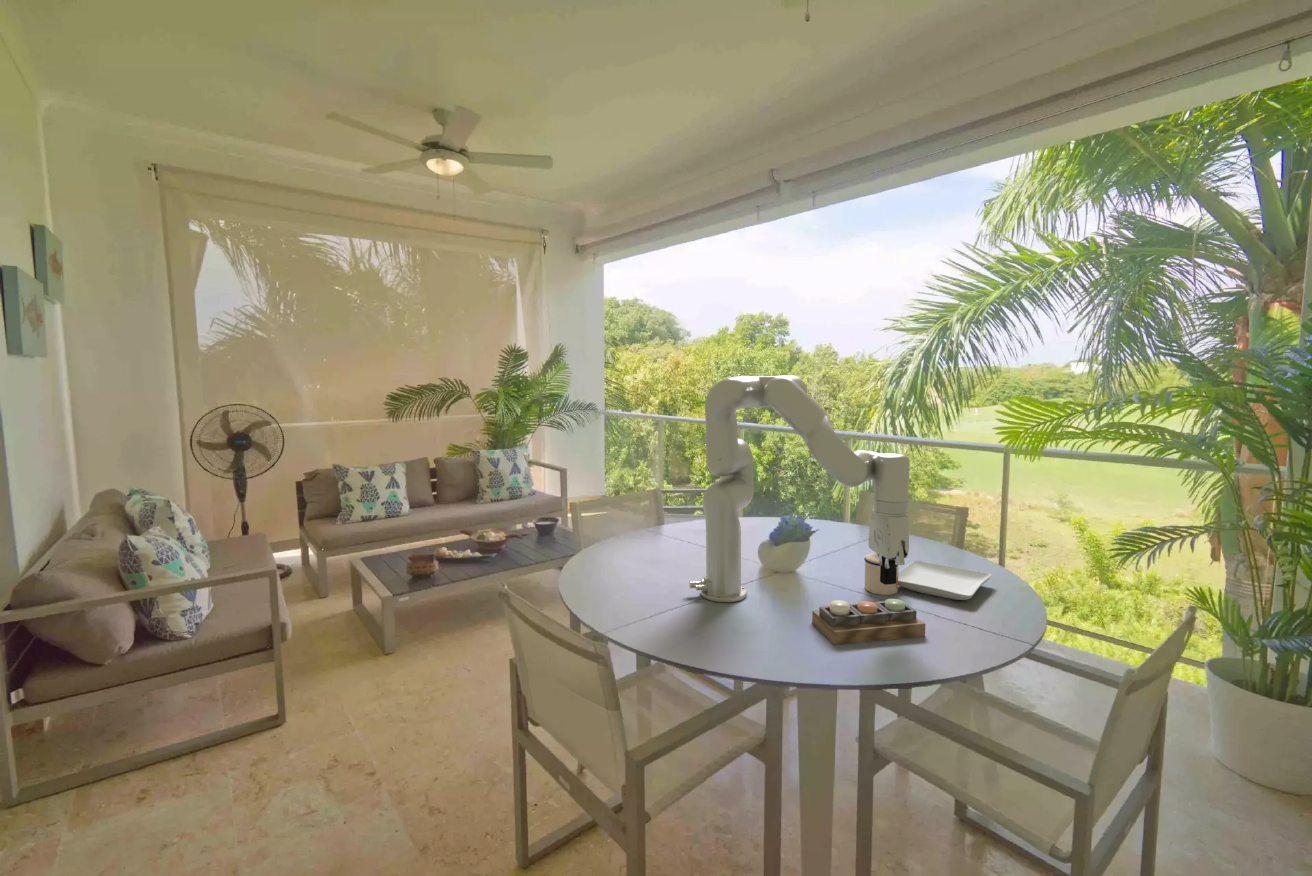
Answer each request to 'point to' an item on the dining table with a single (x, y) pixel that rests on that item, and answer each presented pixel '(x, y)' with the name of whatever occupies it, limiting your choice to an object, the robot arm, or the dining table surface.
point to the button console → (868, 624)
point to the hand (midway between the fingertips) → (888, 582)
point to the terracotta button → (867, 607)
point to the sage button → (894, 605)
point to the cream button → (839, 608)
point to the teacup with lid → (877, 577)
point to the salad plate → (941, 580)
